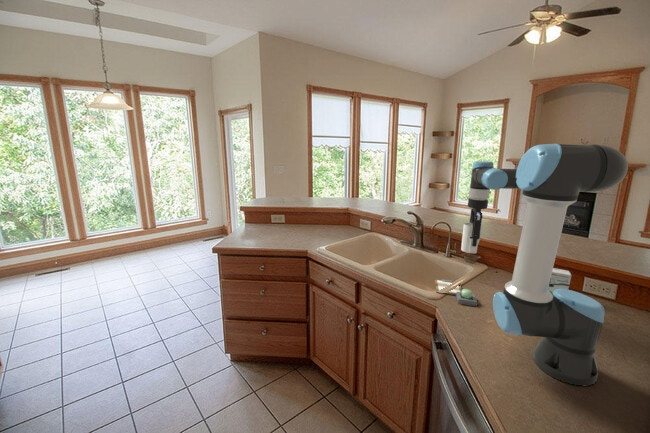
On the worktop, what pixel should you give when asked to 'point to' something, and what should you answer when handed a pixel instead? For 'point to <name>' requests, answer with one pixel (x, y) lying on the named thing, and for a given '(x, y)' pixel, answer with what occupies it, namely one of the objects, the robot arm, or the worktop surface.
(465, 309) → the worktop surface
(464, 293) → the button
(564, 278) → the ink box
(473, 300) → the button base
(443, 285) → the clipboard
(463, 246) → the mug
